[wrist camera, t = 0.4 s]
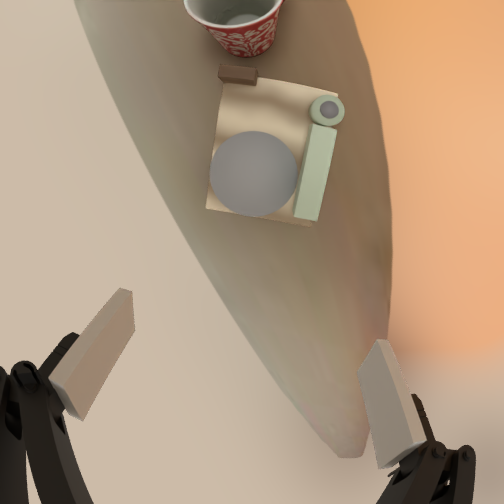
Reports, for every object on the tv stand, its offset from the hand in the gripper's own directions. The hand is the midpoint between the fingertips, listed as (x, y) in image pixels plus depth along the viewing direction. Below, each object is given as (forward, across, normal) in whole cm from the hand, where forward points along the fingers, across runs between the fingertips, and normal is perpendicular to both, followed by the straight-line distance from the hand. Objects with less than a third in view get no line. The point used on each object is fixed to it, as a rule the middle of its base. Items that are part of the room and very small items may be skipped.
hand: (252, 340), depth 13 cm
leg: (+23, +4, +8) cm, 25 cm away
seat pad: (+24, -2, +4) cm, 24 cm away
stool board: (+26, -1, +8) cm, 27 cm away
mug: (+26, -6, +25) cm, 36 cm away
